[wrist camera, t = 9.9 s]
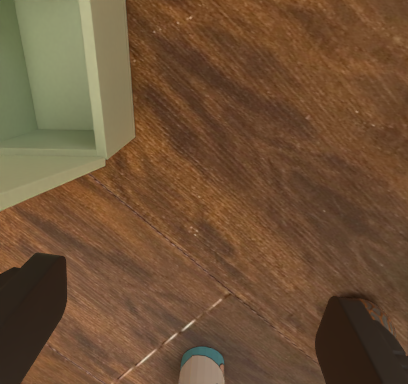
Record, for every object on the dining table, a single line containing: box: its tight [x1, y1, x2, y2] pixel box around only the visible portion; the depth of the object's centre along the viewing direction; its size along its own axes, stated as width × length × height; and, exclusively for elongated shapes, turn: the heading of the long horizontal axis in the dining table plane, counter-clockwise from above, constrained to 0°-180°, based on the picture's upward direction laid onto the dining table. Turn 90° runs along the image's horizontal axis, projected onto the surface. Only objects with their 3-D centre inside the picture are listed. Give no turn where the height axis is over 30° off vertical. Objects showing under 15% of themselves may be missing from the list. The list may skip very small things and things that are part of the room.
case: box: [0, 0, 135, 160], centre depth 29 cm, size 16×12×10 cm
